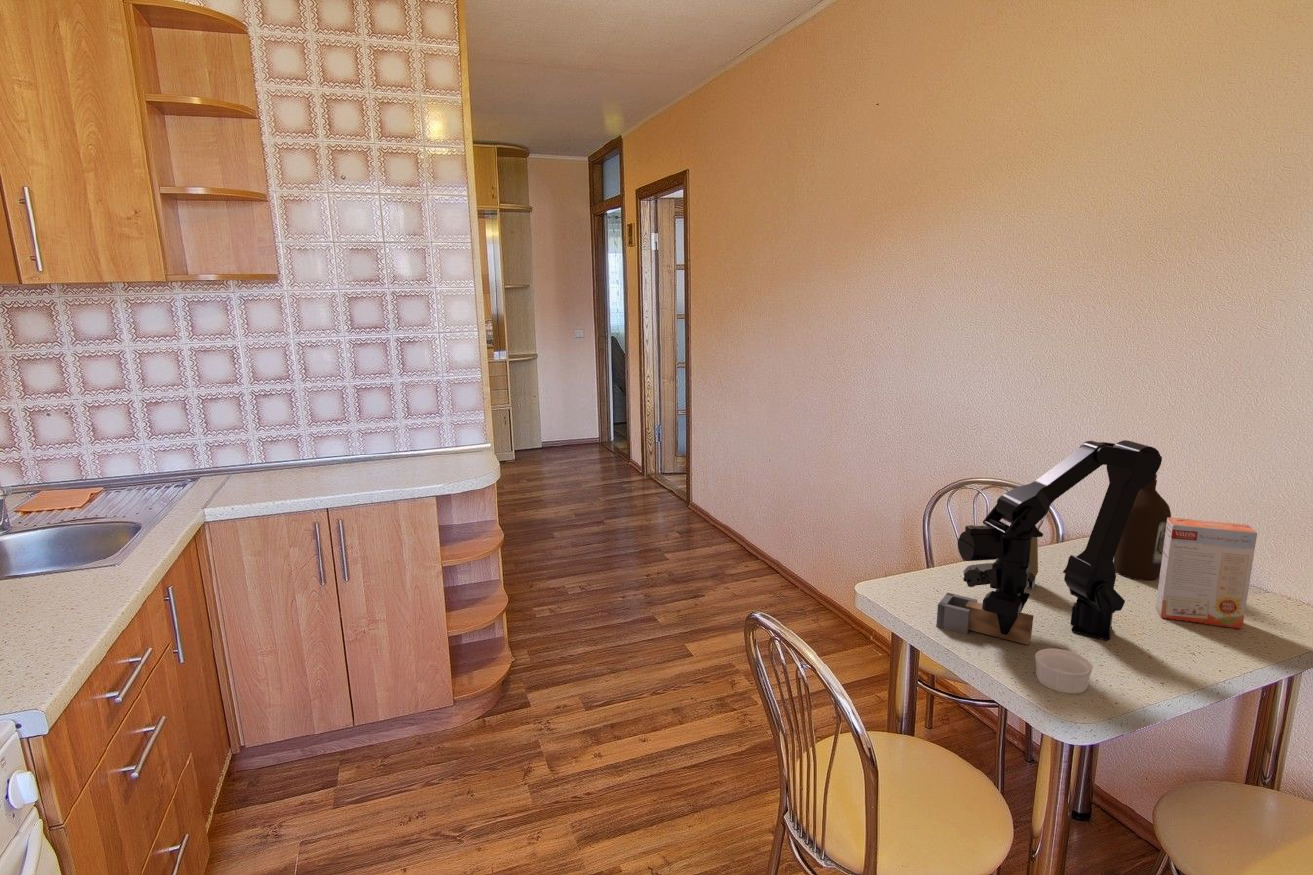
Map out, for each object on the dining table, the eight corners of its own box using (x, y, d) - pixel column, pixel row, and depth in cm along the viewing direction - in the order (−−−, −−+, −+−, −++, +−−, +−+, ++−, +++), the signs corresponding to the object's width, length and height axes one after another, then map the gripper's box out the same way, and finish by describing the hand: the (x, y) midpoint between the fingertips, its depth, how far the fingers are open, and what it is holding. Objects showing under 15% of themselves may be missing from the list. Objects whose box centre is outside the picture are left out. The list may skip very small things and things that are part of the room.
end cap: (975, 621, 148) (977, 599, 147) (966, 634, 143) (968, 611, 142) (945, 614, 152) (947, 592, 151) (936, 626, 146) (937, 604, 145)
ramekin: (1066, 701, 120) (1069, 678, 119) (1021, 675, 128) (1023, 654, 127) (1101, 689, 123) (1104, 666, 122) (1055, 665, 131) (1058, 643, 130)
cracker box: (1233, 618, 148) (1249, 523, 144) (1242, 630, 143) (1259, 532, 139) (1153, 606, 154) (1166, 515, 150) (1159, 618, 149) (1173, 523, 144)
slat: (1031, 638, 140) (1033, 615, 139) (1028, 644, 138) (1030, 621, 137) (967, 622, 147) (968, 600, 146) (963, 628, 145) (965, 605, 144)
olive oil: (1104, 573, 172) (1117, 474, 167) (1116, 561, 179) (1128, 465, 174) (1156, 585, 165) (1171, 482, 160) (1166, 572, 172) (1181, 473, 167)
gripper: (980, 536, 150) (974, 604, 153) (957, 563, 136) (951, 637, 139) (1039, 546, 144) (1031, 617, 147) (1021, 576, 129) (1013, 654, 132)
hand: (1005, 630), depth 141 cm, fingers closed on slat, 3 cm apart
